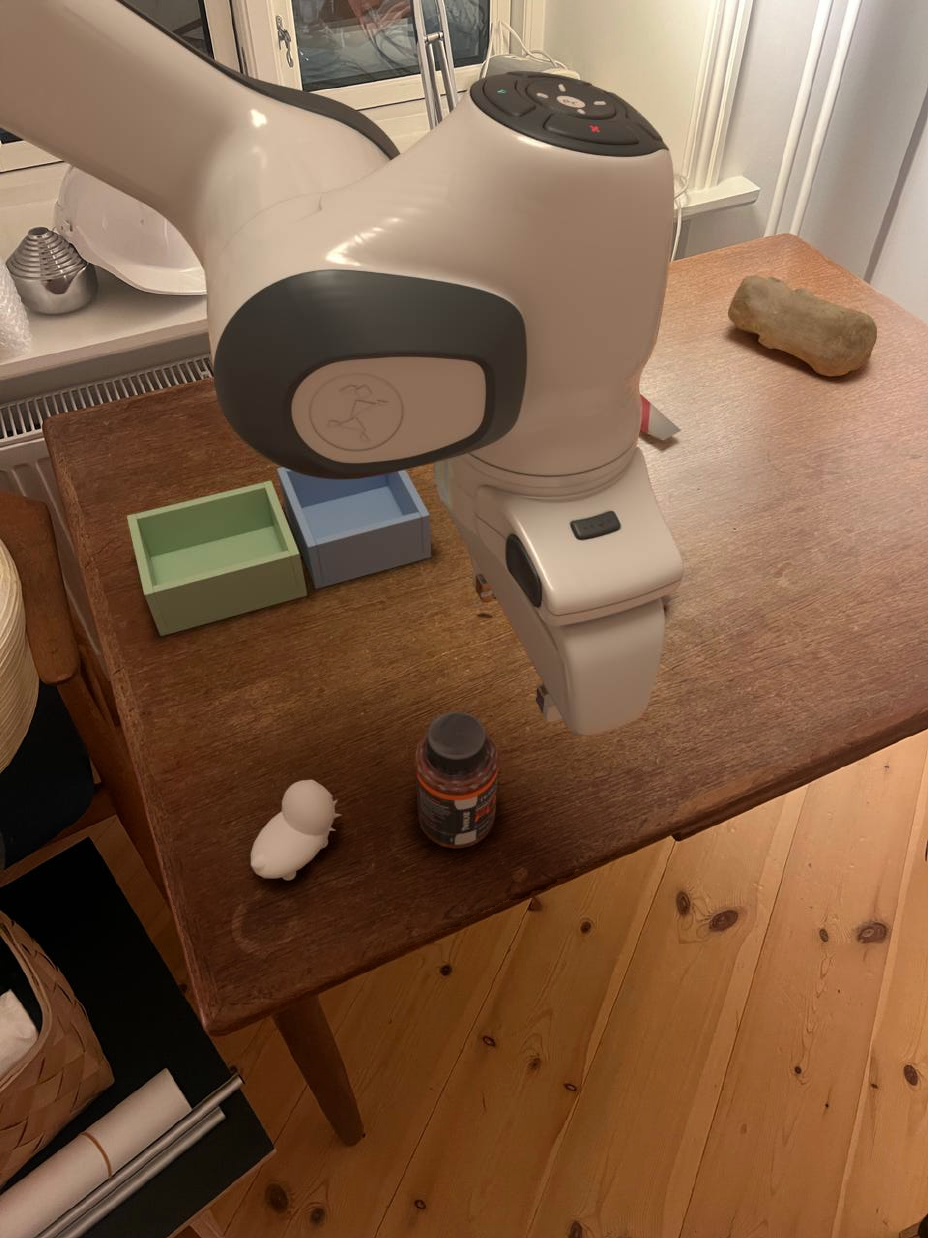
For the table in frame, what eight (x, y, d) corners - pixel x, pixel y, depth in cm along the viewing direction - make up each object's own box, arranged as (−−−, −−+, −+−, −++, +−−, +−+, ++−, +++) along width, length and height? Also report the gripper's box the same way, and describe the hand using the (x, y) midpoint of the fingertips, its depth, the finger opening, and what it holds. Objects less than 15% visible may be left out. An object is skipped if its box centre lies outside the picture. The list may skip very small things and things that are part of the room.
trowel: (661, 430, 97) (539, 352, 108) (657, 451, 99) (538, 372, 110) (687, 417, 98) (564, 340, 109) (683, 438, 100) (562, 361, 111)
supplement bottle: (487, 859, 69) (491, 780, 60) (410, 844, 69) (402, 764, 61) (501, 789, 72) (506, 706, 64) (428, 776, 73) (423, 692, 65)
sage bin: (160, 636, 83) (144, 594, 78) (142, 558, 89) (126, 515, 85) (307, 595, 86) (299, 553, 82) (279, 522, 92) (271, 480, 88)
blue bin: (315, 589, 86) (307, 547, 82) (285, 511, 93) (276, 468, 89) (431, 557, 89) (429, 514, 85) (393, 483, 96) (390, 440, 92)
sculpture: (763, 283, 116) (748, 246, 108) (893, 330, 109) (889, 294, 100) (727, 345, 118) (710, 314, 109) (854, 396, 110) (846, 367, 101)
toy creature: (358, 829, 70) (351, 787, 65) (280, 907, 66) (266, 868, 61) (316, 795, 72) (306, 752, 67) (238, 868, 68) (221, 828, 63)
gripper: (402, 358, 49) (411, 544, 59) (569, 634, 36) (543, 808, 47) (511, 335, 50) (501, 521, 61) (707, 592, 38) (652, 770, 48)
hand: (520, 648), depth 54 cm, fingers open, 8 cm apart
